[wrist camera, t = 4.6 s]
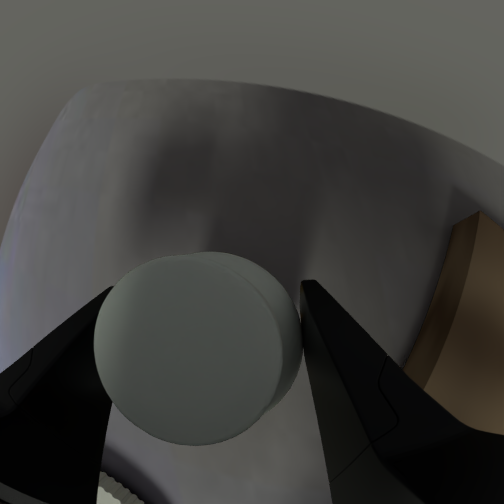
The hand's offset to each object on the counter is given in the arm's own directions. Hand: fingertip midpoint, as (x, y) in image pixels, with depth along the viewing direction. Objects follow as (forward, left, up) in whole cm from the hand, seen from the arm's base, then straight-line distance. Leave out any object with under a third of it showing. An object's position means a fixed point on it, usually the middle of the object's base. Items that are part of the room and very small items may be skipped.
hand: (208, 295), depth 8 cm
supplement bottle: (-1, -1, -7) cm, 7 cm away
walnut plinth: (+12, -12, -7) cm, 19 cm away
